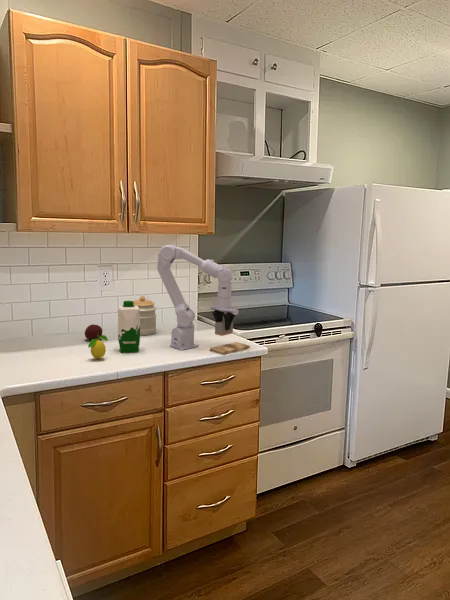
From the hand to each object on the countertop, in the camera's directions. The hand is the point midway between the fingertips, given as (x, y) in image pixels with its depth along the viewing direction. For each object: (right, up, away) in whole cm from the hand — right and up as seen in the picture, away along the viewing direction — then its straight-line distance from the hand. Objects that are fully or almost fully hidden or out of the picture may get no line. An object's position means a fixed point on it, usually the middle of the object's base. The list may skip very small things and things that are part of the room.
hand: (223, 328), depth 199 cm
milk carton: (-39, -9, -6) cm, 40 cm away
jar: (-39, -4, +25) cm, 46 cm away
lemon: (-48, -11, -20) cm, 53 cm away
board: (+3, -9, 0) cm, 9 cm away
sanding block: (0, -2, +1) cm, 2 cm away
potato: (-57, -6, +8) cm, 58 cm away
